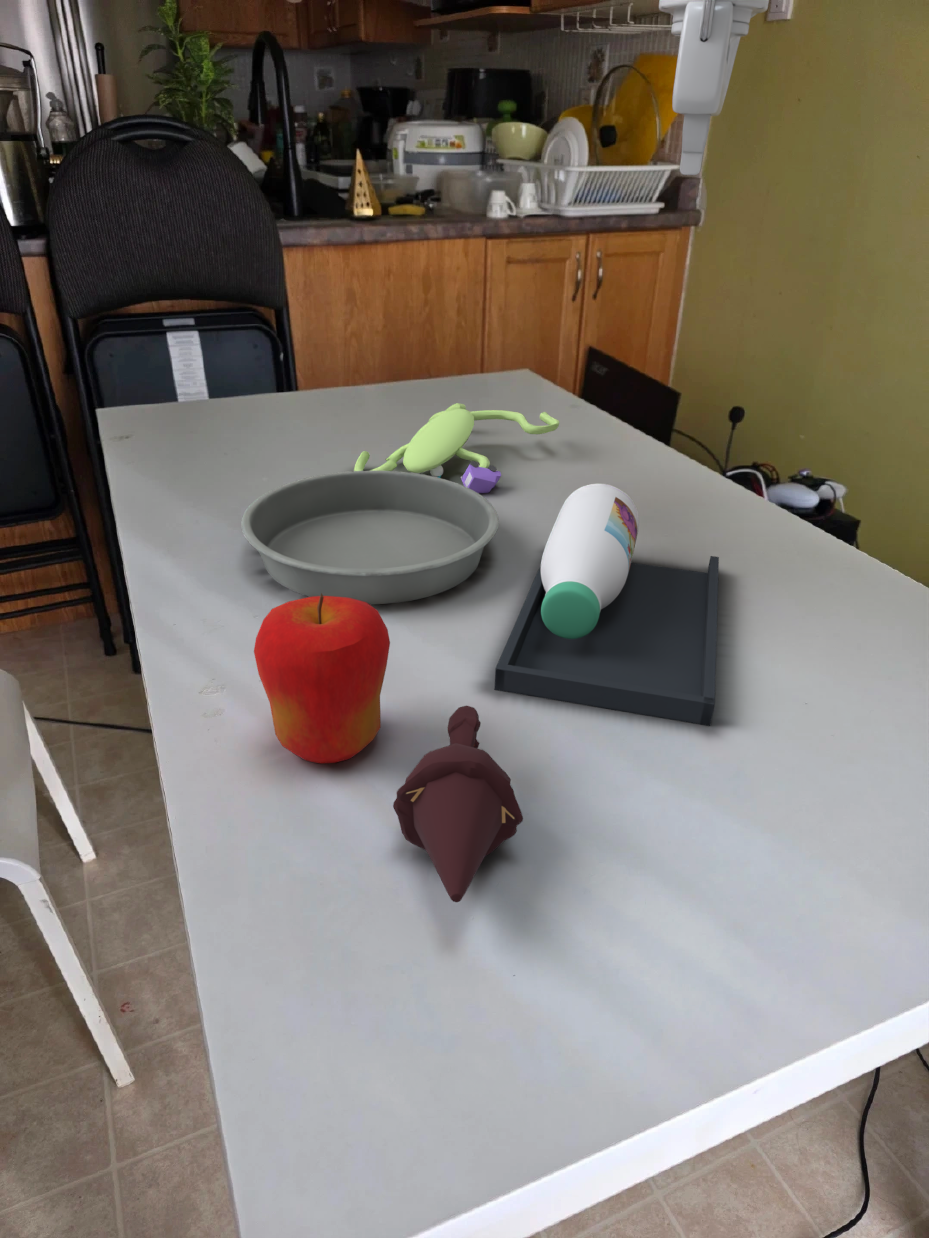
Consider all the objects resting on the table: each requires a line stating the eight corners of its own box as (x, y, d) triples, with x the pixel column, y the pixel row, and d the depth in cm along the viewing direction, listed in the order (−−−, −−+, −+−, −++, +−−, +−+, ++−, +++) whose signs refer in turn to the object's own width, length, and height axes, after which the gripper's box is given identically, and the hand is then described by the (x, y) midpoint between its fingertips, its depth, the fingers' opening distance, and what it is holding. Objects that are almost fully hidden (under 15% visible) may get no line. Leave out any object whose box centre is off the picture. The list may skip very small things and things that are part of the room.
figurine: (571, 449, 118) (574, 407, 115) (472, 513, 97) (474, 465, 95) (451, 425, 125) (452, 386, 123) (337, 480, 105) (335, 434, 102)
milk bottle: (555, 546, 89) (514, 646, 72) (567, 474, 85) (527, 562, 68) (631, 561, 87) (608, 667, 71) (647, 489, 84) (626, 582, 67)
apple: (386, 704, 65) (383, 560, 60) (396, 777, 58) (393, 621, 52) (267, 712, 64) (252, 566, 58) (262, 787, 57) (245, 629, 51)
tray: (551, 555, 89) (553, 535, 88) (715, 577, 85) (718, 556, 84) (494, 692, 67) (495, 668, 66) (709, 729, 64) (714, 704, 63)
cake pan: (190, 571, 83) (184, 527, 81) (348, 492, 102) (346, 454, 100) (407, 644, 73) (406, 596, 71) (539, 541, 91) (542, 500, 89)
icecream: (548, 861, 43) (528, 706, 57) (402, 827, 42) (417, 678, 56) (506, 963, 46) (497, 792, 60) (368, 933, 45) (390, 766, 59)
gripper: (758, -34, 63) (725, 182, 70) (752, 1, 80) (726, 171, 87) (669, -33, 64) (644, 178, 71) (682, 1, 82) (661, 168, 88)
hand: (689, 174), depth 79 cm, fingers closed
